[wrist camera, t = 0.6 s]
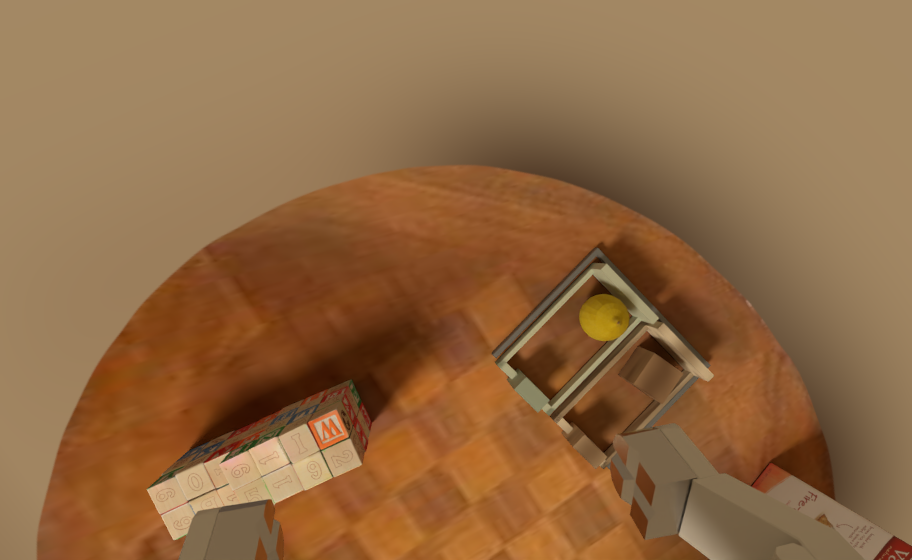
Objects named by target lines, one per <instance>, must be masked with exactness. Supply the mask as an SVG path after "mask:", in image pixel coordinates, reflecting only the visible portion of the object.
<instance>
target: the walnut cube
mask: <svg viewBox="0 0 912 560" xmlns="http://www.w3.org/2000/svg"><path fill="white" fill-rule="evenodd" d="M683 374H684V373H682V372H681V371H679V370H678V369H677V368H675V367H674V366H672V365H671V364H669V363H668V362H667V361H665V360H664V359H662V358H661V357H660V356H658V355H657V354H655V353H653V352H651V351H649V350H646V349H644V348H641V347H639V346H637V348H636V349H635V351H634V352H633V354H632V355H631V357H630V358H629V360H628V361H627V362H626V364H625V365H624V367H623V368H622V370H621V371H620V373H619V374H618V375H619V376H620V377H622V378H623V379H625V380H626V381H628V382H629V383H630V384H632V385H633V386H635V387H636V388H638V389H639V390H640V391H642V392H643V393H645V394H646V395H648V396H650V397H651V398H653V399H655V400H656V401H658V402H659V403H661V404H663V403H664V402H665V400H666V399H667V397H668V396H669V394H670V393H671V391H672V390H673V389H674V387H675V386H676V384H677V383H678V381H679V380H680V378H681V377H682V376H683Z"/></svg>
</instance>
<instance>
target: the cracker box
mask: <svg viewBox="0 0 912 560" xmlns="http://www.w3.org/2000/svg"><path fill="white" fill-rule="evenodd" d="M751 487H753V488H755V489H757V490H759V491H761V492H763V493H764V494H766V495H768V496H770V497H772V498H774V499H776V500H778V501H780V502H782V503H784V504H786V505H788V506H789V507H791V508H793V509H795V510H797V511H799V512H801V513H803V514H805V515H807V516H809V517H811V518H813V519H815V520H816V521H818V522H820V523H822V524H824V525H826V526H828V527H830V528H832V529H834V530H836V531H838V532H839V533H840V535H841V536H842V537H843V538H844V539H845V540H846V541H847V542H848V543H849V544H850V545H851V546H852V547H853V548H854V549H855V550H856V551H857V552H858V553H859V554H860V555H861V556H862V557H863V558H864V559H865V560H912V546H910V545H909V544H907V543H905V542H904V541H902V540H900V539H899V538H897V537H895V536H894V535H892V534H890V533H889V532H887V531H885V530H884V529H882V528H880V527H879V526H877V525H875V524H874V523H872V522H870V521H869V520H867V519H865V518H864V517H862V516H860V515H858V514H857V513H855V512H853V511H852V510H850V509H848V508H847V507H845V506H843V505H842V504H840V503H838V502H836V501H835V500H833V499H832V498H830V497H828V496H827V495H825V494H823V493H822V492H820V491H818V490H817V489H815V488H813V487H812V486H810V485H808V484H807V483H805V482H803V481H802V480H800V479H798V478H796V477H795V476H793V475H791V474H789V473H788V472H786V471H784V470H783V469H781V468H779V467H778V466H776V465H774V464H773V463H769V465H768V466H767V468H766V469H765V470H764V471H763V473H762V474H761V475H760V476H759V478H758V479H757V480H756V481H755V483H754V484H753V485H752V486H751Z"/></svg>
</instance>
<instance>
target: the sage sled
mask: <svg viewBox="0 0 912 560" xmlns="http://www.w3.org/2000/svg"><path fill="white" fill-rule="evenodd" d="M592 274H593V275H594V276H595V277H596V278H597V279H598V281H599V282H600V283H601V284H602V285H603V286H604V287H605V288H606V289H607V290H608V291H609V292H610V293H611V294H612V295H613V296H614V297H616V298H618V299H620V300H621V302H622V303H623V304H624V305H625V306H626V308H627V310H628V312H629V313H630V314H631V315H632V317H631V318H630V320H629V326H628V328H627V330H626V331H625V332H624V334H622V335H621V336H620V337H619V338H616V339H614V340H611V341H608V342H607V343H606V344H605V345H604V346H603V347H602V348H601V349H600V350H599V351H598V352H597V353H596V354H595V355H594V356H593V357H592V358H591V359H590V360H589V361H588V362H587V363H586V365H585V366H584V367H583V368H582V369H581V370H580V371H579V372H578V373H577V374H576V375H575V376H574V377H573V378H572V379H571V380H570V381H569V382H568V383H567V384H566V385H565V386H564V387H563V388H562V389H561V390H560V391H559V392H558V393H557V394H556V395H555V396H554V397H553V398H552V399H551V401H550V400H549V399H548V398H547V397H546V396H545V395H544V394H543V392H542V391H541V390H540V389H539V388H538V387H537V386H536V385H535V384H534V383H533V382H532V381H531V380H530V379H529V378H527V377H526V376H525V375H524V374H523V373H522V372H521V371H520V370H519V369H518V368H517V369H516V370H514V369H513V368H512V367H511V366H510V365H509V364H508V363H507V361H508V360H509V359H510V358H511V357H512V356H513V355H514V354H515V353H516V352H517V351H518V350H519V349H520V348H521V347H522V346H523V345H524V344H525V343H526V342H527V341H528V340H529V339H530V338H531V337H532V336H533V335H534V334H535V333H536V332H537V331H538V330H539V329H540V328H541V327H542V326H543V325H544V324H545V323H546V322H547V321H548V319H549V318H550V317H551V316H552V315H553V314H554V313H555V312H556V311H557V310H558V309H559V308H560V307H561V306H562V305H563V304H564V303H565V302H566V301H567V300H568V299H569V298H570V297H571V296H572V295H573V294H574V293H575V292H576V291H577V290H578V289H579V288H580V287H581V286H582V285H583V284H584V283H585V282H586V281H587V280H588V279H589V278H590V277H591V276H592ZM658 319H659V318H658V317H657V315H656V314H655V313H654V312H653V311H652V310H651V309H650V308H649V307H648V306H647V305H646V304H645V303H644V302H643V301H642V300H641V299H640V298H639V297H638V296H637V295H636V294H635V293H634V291H633V290H632V289H631V288H630V287H629V286H628V285H627V284H626V283H625V282H624V281H623V280H622V279H621V278H620V277H619V276H618V275H617V274H616V273H615V272H614V271H613V270H612V269H611V267H610V266H609V265H608V264H605V263H592V264H591V265H590V266H589V267H588V268H587V269H586V270H585V271H584V272H583V273H582V274H581V275H580V276H579V277H578V278H577V279H576V280H575V281H574V282H573V283H572V284H571V285H570V286H569V287H568V288H567V289H566V290H565V291H564V292H563V293H562V295H561V296H560V297H559V298H558V299H557V300H556V301H555V302H554V303H553V304H552V305H551V306H550V307H549V308H548V309H547V310H546V311H545V312H544V313H543V314H542V315H541V316H540V317H539V318H538V319H537V320H536V321H535V322H534V323H533V324H532V325H531V326H530V327H529V328H528V329H527V330H526V331H525V332H524V333H523V334H522V335H521V336H520V337H519V338H518V339H517V340H516V342H515V343H514V344H513V345H512V346H511V347H510V348H509V349H508V350H507V351H506V352H505V353H504V354H503V355H502V356H501V357H500V358H499V359H498V360H497V361H496V362H495V363H496V364H497V366H498V367H499V368H501V369H502V370H503V371H504V372H505V373H506V374H507V375H508V376H509V378H508V379H507V380H508V382H509V383H510V385H511V386H512V387H513V389H514V390H515V391H516V392H517V393H518V394H519V395H520V396H521V397H522V398H523V399H524V400H526V401H527V402H528V403H529V404H530V405H531V406H532V407H533V408H534V409H535V410H536V411H537V412H539V411H540V410H541V409H542V410H543V411H544V412H545V413H546V414H548V415H550V414H551V413H552V412H553V411H554V410H555V409H556V408H557V407H558V406H559V405H560V404H561V403H562V402H563V401H564V400H565V399H566V398H567V397H568V396H569V395H570V394H571V393H572V392H573V391H574V390H575V389H576V388H577V387H578V386H579V385H580V384H581V382H582V381H583V380H584V379H585V378H586V377H587V376H588V375H589V374H590V373H591V372H592V371H593V370H594V369H595V368H596V367H597V366H598V365H599V364H600V363H601V362H602V361H603V360H604V359H605V358H606V357H607V356H608V355H609V354H610V353H611V352H612V351H613V350H614V349H615V347H616V346H617V345H618V344H619V343H620V342H621V341H622V340H623V339H624V338H625V337H626V336H627V335H628V334H629V333H630V332H631V331H632V330H633V329H634V328H635V327H636V326H637V325H638V324H639V323H640V322H641V321H644V322H647V323H651V324H654V323H655V322H656V321H657V320H658ZM549 401H550V402H549ZM548 402H549V403H548Z"/></svg>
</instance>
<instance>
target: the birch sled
mask: <svg viewBox="0 0 912 560" xmlns="http://www.w3.org/2000/svg"><path fill="white" fill-rule="evenodd" d="M646 331H648V332H649V333H650V334H651V335H652V336H653V337H654V338H655V340H656V341H657V342H658V343H659V344H660V345H661V346H662V347H663V348H664V349H665V350H666V351H667V352H668V353H669V354H670V355H671V356H672V357H673V358H674V359H675V360H676V361H677V362H678V363H679V364H680V365H681V366H682V367H683V369H684V370H683V371H682V373H684V374H683V376H682V377H681V378H680V380H679V381H678V383H677V384H676V386H675V387H674V389H673V390H672V391H671V393H670V394H669V396H668V397H667V399H666V400H665V402H664V403H663V404H661V403H659V402H658V401H656V400H654V401H653V402H652V403H651V405H650V406H649V407H648V408H647V409H646V410H645V411H644V412H643V413H642V414H641V415H640V416H639V417H638V418H637V419H636V420H635V421H634V422H633V423H632V424H631V425H630V426H629V427H628V428H627V429H626V430H625V431H624V433H625V432H630V431H635V430H640V429H643V428H644V427H645V426H646V425H647V424H648V423H649V422H650V421H651V420H652V419H653V418H654V417H655V416H656V415H657V413H658V412H659V411H660V410H661V409H662V408H663V407H664V406H665V405H666V404H667V403H668V402H669V401H670V400H671V399H672V398H673V397H674V396H675V395H676V394H677V393H678V392H679V391H680V390H681V389H682V388H683V386H684V385H685V384H686V383H687V382H688V381H689V380H690V379H691V378H692V377H693V376H697V377H699V378H701V379H703V380H706V381H708V382H709V381H710V380H711V379H712V378H713V377H714V375H713V374H712V373H711V372H710V371H709V370H708V369H707V368H706V367H705V366H704V364H703V363H702V362H701V361H700V360H699V359H698V358H697V357H696V356H695V355H694V354H693V353H692V352H691V351H690V350H689V349H688V348H687V347H686V346H685V345H684V344H683V343H682V342H681V340H680V339H679V338H678V337H677V336H676V335H675V334H674V333H673V332H672V331H671V330H670V329H669V328H668V327H667V326H666V325H665V324H664V323H662V322H658V321H656V322H655V323H654V324H651V323H647V322H644V321H642V322H641V323H640V324H639V325H638V326H637V327H636V328H635V329H634V330H633V331H632V332H631V333H630V334H629V335H628V336H627V337H626V339H625V340H624V341H623V342H622V343H621V344H620V345H619V346H618V347H617V348H616V349H615V350H614V351H613V352H612V353H611V354H610V355H609V356H608V357H607V358H606V359H605V360H604V361H603V362H602V363H601V364H600V365H599V366H598V367H597V368H596V369H595V370H594V371H593V373H592V374H591V375H590V376H589V377H588V378H587V379H586V380H585V381H584V382H583V383H582V384H581V385H580V386H579V387H578V388H577V389H576V390H575V391H574V392H573V393H572V394H571V395H570V396H569V397H568V398H567V399H566V400H565V401H564V402H563V403H562V404H561V405H560V406H559V408H558V409H557V410H556V411H555V412H554V413H553V414H552V415H551V416H550V417H551V418H552V419H553V420H554V421H555V422H556V423H557V424H558V425H559V426H560V427H561V428H562V429H563V432H562V434H563V435H564V437H565V438H566V439H567V440H568V441H569V443H570V444H571V445H572V446H573V447H574V448H575V449H576V450H577V451H578V452H579V453H580V454H581V455H582V456H583V457H584V458H585V459H586V460H587V461H588V462H589V463H590V464H591V465H592V466H593V467H594V468H595V469H596V468H597V467H598V466H599V465H600V466H601V467H602V468H603V469H604V468H605V467H606V466H607V465H608V464H609V463H610V462H611V458H612V457H613V456H614V455H615V454H616V453H617V452H616V450H615V448H614V447H613V444H612V445H611V446H610V447H609V448H608V449H607V450H606V451H605V452H604V453H603V452H602V451H601V450H600V449H599V448H598V447H597V446H596V445H595V443H594V442H593V441H592V440H591V439H589V438H588V437H587V436H586V435H585V434H584V433H583V432H582V431H581V430H580V429H579V428H578V427H577V426H576V425H575V424H574V423H573V422H571V423H570V424H569V423H568V422H567V421H566V420H565V419H564V418H563V417H564V416H565V415H566V414H567V412H568V411H569V410H570V409H571V408H572V407H573V406H574V405H575V404H576V403H577V402H578V401H579V400H580V399H581V398H582V397H583V396H584V395H585V394H586V393H587V392H588V391H589V390H590V389H591V388H592V387H593V386H594V385H595V384H596V383H597V382H598V381H599V379H600V378H601V377H602V376H603V375H604V374H605V373H606V372H607V371H608V370H609V369H610V368H611V367H612V366H613V365H614V364H615V363H616V362H617V361H618V360H619V359H620V358H621V357H622V356H623V355H624V354H625V353H626V352H627V351H628V350H629V349H630V348H631V346H632V345H633V344H634V343H635V342H636V341H637V340H638V339H639V338H640V337H641V336H642V335H643V334H644V333H645V332H646Z"/></svg>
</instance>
